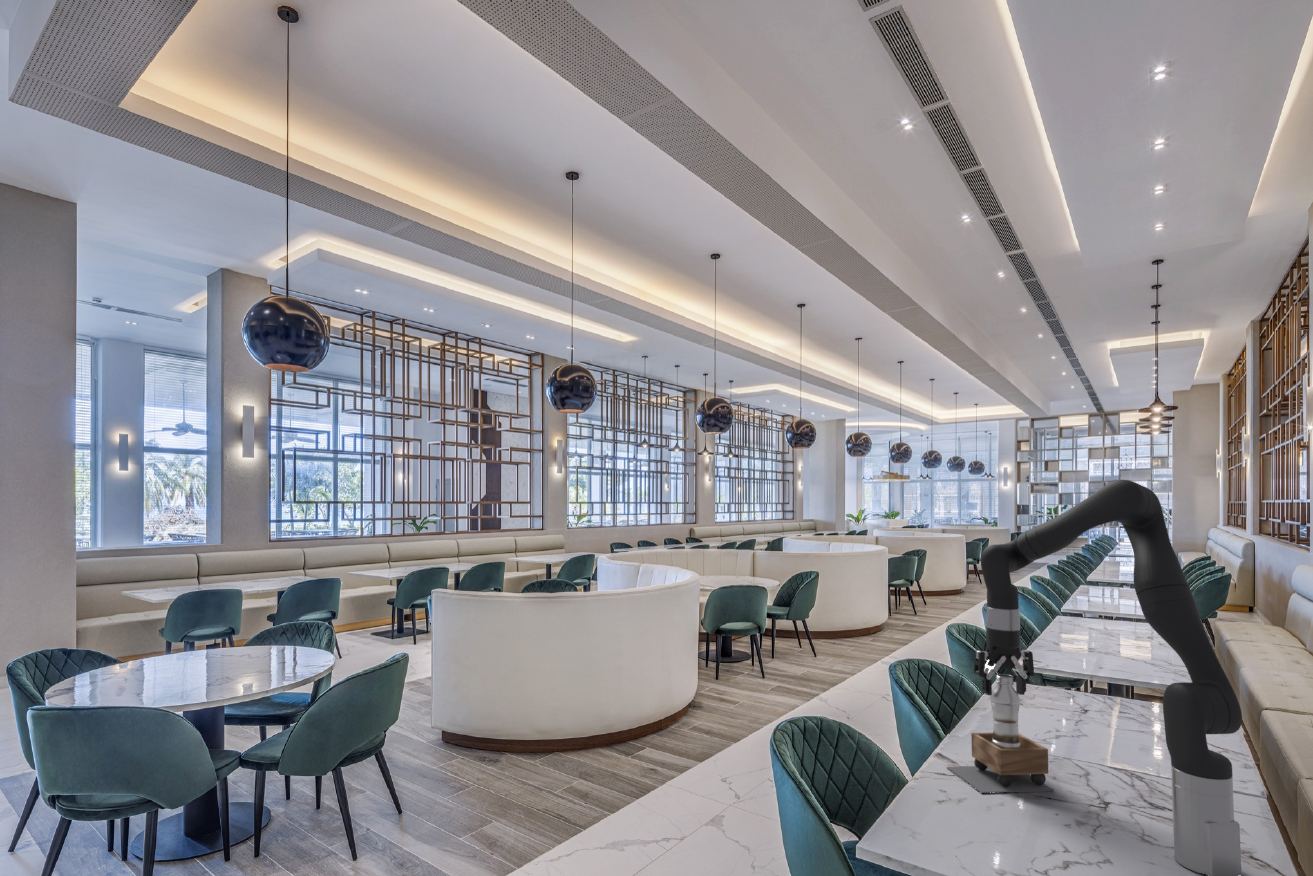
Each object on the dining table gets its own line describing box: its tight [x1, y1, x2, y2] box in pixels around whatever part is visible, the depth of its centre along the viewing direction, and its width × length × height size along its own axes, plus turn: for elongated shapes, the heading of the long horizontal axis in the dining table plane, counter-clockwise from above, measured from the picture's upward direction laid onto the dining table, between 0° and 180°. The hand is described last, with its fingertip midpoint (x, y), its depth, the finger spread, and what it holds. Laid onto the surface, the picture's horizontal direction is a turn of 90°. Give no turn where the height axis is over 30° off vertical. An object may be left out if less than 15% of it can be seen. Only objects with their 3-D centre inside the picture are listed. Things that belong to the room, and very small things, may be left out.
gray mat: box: [946, 765, 1055, 794], centre depth 172 cm, size 15×18×1 cm
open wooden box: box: [970, 732, 1049, 786], centre depth 173 cm, size 12×12×8 cm
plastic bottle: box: [989, 673, 1021, 749], centre depth 173 cm, size 6×7×20 cm
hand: (1004, 694), depth 174 cm, fingers open, 8 cm apart
